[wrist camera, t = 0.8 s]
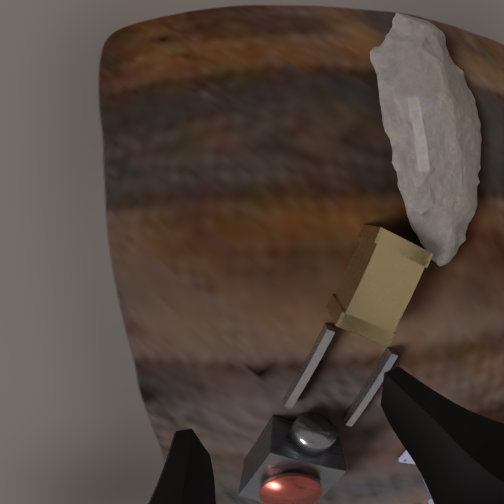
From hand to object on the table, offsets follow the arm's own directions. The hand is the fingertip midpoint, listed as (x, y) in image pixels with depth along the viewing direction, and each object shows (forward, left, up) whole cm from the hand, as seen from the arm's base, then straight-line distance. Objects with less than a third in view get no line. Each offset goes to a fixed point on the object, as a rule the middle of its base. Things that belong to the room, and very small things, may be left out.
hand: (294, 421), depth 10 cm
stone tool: (-6, -19, -18) cm, 27 cm away
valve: (-8, +12, -18) cm, 23 cm away
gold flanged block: (-6, -4, -18) cm, 19 cm away
